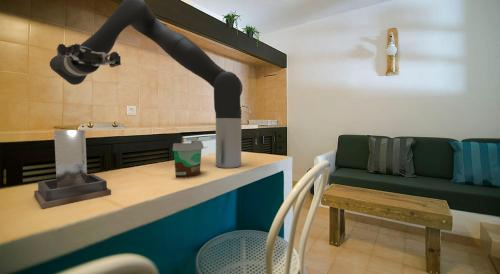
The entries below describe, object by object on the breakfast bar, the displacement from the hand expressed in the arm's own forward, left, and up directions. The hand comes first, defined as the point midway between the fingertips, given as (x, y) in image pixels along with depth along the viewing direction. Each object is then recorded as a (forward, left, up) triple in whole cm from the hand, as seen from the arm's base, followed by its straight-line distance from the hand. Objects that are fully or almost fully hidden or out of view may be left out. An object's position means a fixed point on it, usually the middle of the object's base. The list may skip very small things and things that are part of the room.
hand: (98, 51), depth 60 cm
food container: (-10, +21, -34) cm, 42 cm away
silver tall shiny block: (+12, +3, -33) cm, 35 cm away
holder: (+12, +3, -34) cm, 36 cm away
